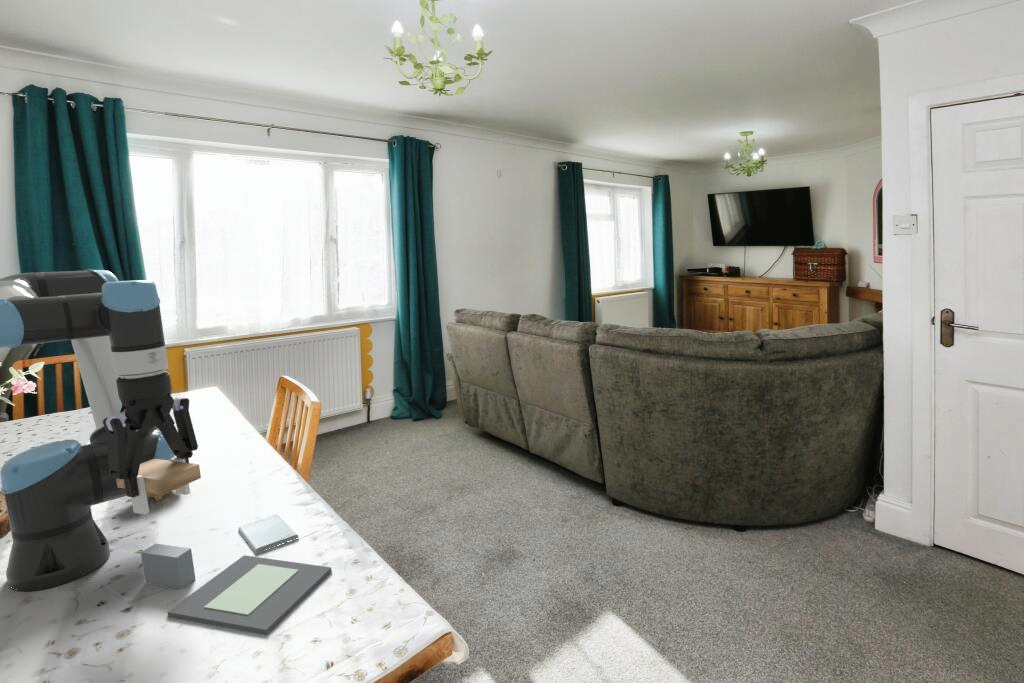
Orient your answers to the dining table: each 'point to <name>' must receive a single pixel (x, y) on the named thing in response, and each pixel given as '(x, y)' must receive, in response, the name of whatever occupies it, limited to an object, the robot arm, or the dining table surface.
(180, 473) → the card box
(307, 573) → the mat
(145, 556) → the stand
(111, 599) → the dining table surface
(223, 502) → the dining table surface
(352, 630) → the dining table surface
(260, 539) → the hard drive
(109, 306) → the robot arm
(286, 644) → the dining table surface
